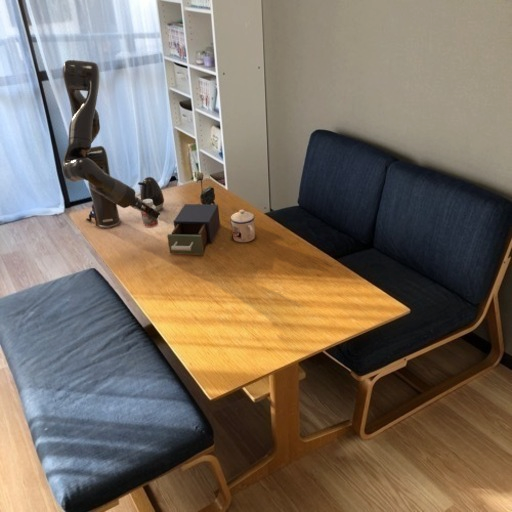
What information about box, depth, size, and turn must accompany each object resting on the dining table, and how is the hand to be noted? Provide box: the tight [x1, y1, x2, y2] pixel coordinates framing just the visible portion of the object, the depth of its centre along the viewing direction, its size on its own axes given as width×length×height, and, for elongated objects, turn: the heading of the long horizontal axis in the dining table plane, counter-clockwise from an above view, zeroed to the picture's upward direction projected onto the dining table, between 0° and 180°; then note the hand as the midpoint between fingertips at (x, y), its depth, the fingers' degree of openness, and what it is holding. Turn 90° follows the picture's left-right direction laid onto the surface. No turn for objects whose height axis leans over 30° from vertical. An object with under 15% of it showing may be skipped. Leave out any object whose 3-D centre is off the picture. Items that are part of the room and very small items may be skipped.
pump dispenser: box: [137, 176, 165, 212], centre depth 224 cm, size 10×10×15 cm
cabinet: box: [173, 203, 221, 245], centre depth 202 cm, size 16×14×9 cm
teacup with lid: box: [230, 208, 256, 243], centre depth 195 cm, size 12×9×12 cm
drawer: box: [166, 223, 208, 255], centre depth 191 cm, size 20×13×7 cm, turn 171°
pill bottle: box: [140, 199, 159, 229], centre depth 187 cm, size 5×5×10 cm
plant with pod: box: [195, 171, 216, 205], centre depth 216 cm, size 8×11×20 cm
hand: (153, 213), depth 188 cm, fingers closed on pill bottle, 5 cm apart
